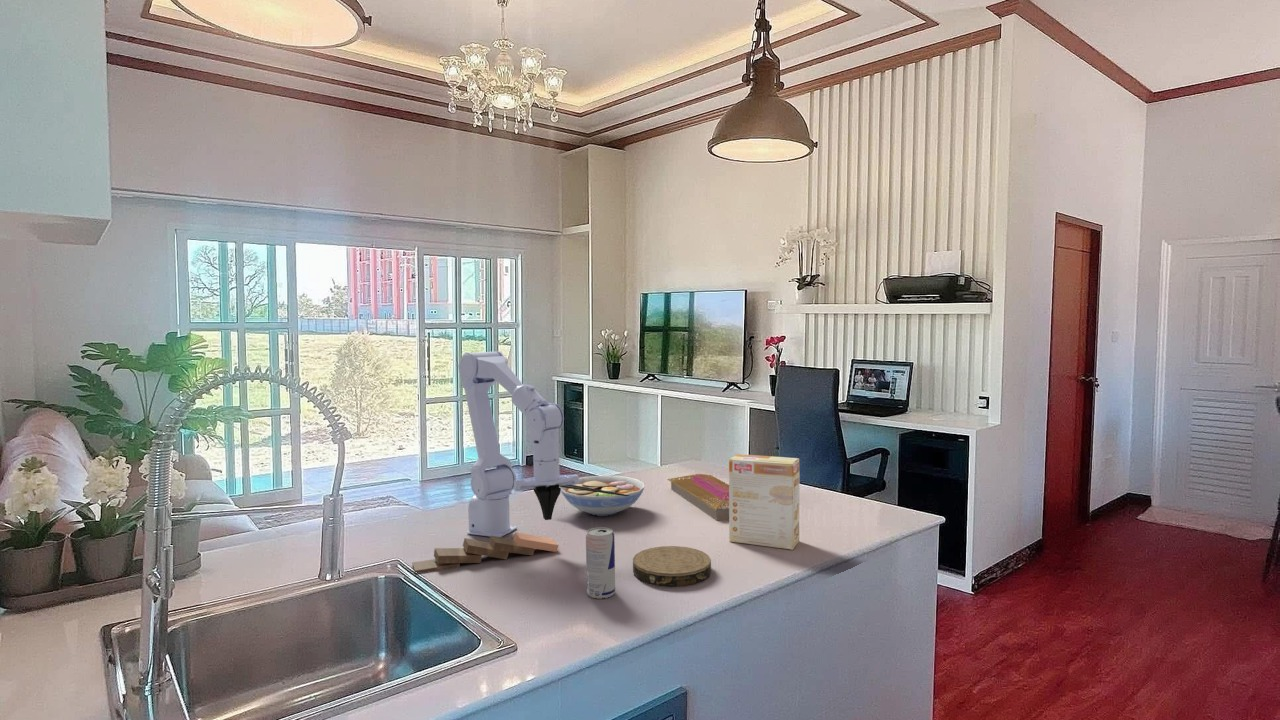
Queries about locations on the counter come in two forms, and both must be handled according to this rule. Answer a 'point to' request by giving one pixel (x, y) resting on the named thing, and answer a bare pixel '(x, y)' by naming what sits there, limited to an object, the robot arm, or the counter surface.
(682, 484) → the brown rectangular box
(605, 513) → the ramen bowl
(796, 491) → the coffeecake box
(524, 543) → the orange tan rectangular block
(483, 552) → the domino
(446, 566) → the domino
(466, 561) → the domino
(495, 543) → the domino
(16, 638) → the counter surface
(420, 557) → the counter surface
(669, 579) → the wooden tree slice
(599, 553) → the energy drink
